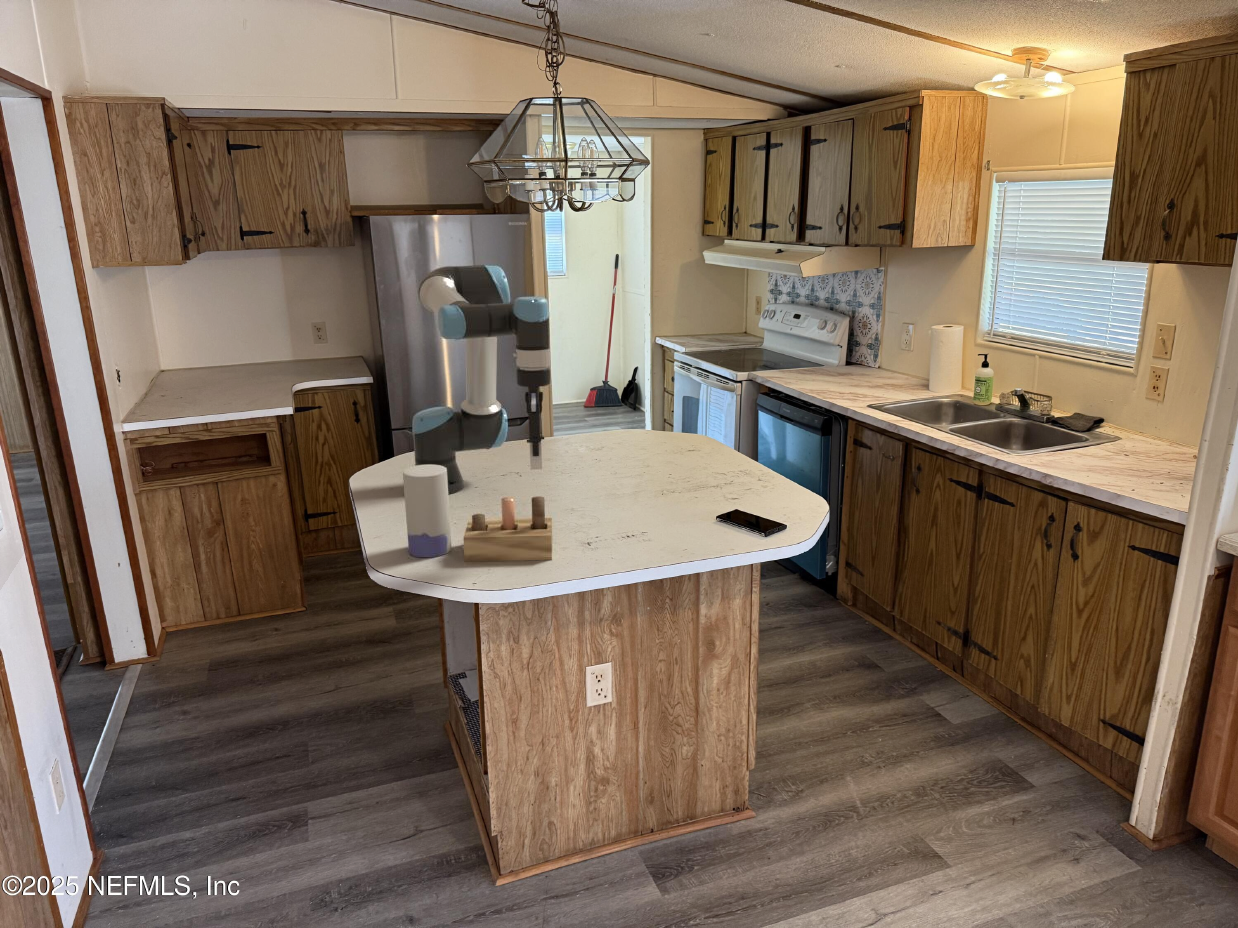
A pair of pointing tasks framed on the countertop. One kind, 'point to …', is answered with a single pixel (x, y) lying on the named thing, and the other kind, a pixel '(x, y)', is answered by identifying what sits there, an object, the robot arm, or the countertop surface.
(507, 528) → the terracotta peg
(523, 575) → the countertop surface
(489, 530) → the oak block
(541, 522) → the walnut peg
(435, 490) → the container
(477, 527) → the walnut peg
